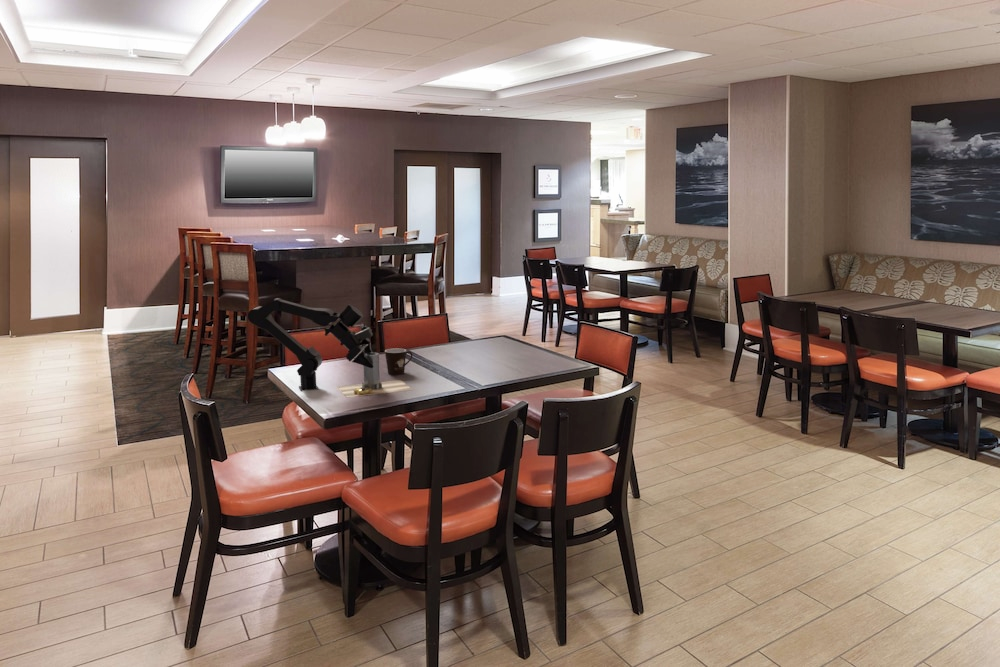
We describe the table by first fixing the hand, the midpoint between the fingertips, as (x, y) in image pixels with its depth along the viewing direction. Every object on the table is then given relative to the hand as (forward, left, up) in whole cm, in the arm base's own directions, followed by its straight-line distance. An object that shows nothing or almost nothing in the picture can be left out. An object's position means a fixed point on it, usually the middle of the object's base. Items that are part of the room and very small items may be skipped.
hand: (374, 364), depth 281 cm
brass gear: (+5, -6, -9) cm, 12 cm away
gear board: (+1, -1, -10) cm, 10 cm away
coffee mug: (-19, +15, -10) cm, 26 cm away
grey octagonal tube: (-1, -1, -9) cm, 9 cm away
